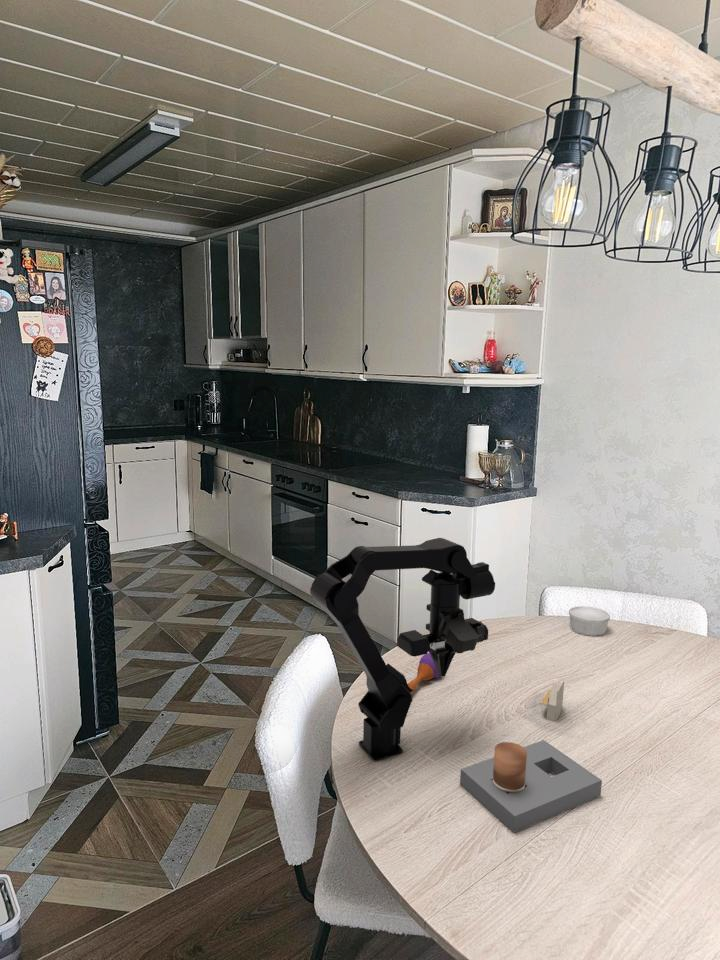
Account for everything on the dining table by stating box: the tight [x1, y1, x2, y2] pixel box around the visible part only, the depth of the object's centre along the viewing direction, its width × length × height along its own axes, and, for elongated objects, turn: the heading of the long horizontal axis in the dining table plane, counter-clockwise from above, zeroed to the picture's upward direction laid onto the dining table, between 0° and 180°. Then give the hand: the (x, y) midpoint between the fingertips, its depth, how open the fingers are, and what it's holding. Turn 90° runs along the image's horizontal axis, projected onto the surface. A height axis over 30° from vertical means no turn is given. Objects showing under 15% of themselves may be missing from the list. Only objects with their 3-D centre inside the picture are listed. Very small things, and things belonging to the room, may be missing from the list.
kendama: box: [407, 652, 440, 695], centre depth 152 cm, size 6×6×20 cm
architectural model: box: [540, 679, 565, 722], centre depth 142 cm, size 3×7×7 cm, turn 150°
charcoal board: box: [459, 739, 603, 834], centre depth 116 cm, size 20×14×3 cm
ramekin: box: [568, 605, 611, 637], centre depth 188 cm, size 11×11×5 cm
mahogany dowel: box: [493, 741, 527, 794], centre depth 113 cm, size 6×6×9 cm
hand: (441, 676), depth 133 cm, fingers closed
